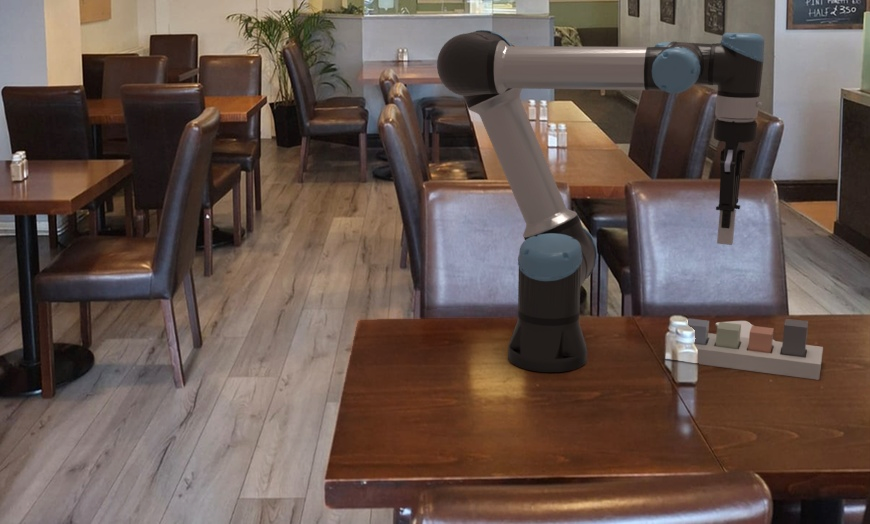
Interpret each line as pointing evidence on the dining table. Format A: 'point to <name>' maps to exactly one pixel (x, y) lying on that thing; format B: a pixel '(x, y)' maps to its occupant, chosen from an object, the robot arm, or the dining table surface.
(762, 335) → the key terracotta
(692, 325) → the key slate
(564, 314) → the robot arm
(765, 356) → the grey block holder
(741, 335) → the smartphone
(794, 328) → the key charcoal
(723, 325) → the key sage
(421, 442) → the dining table surface
